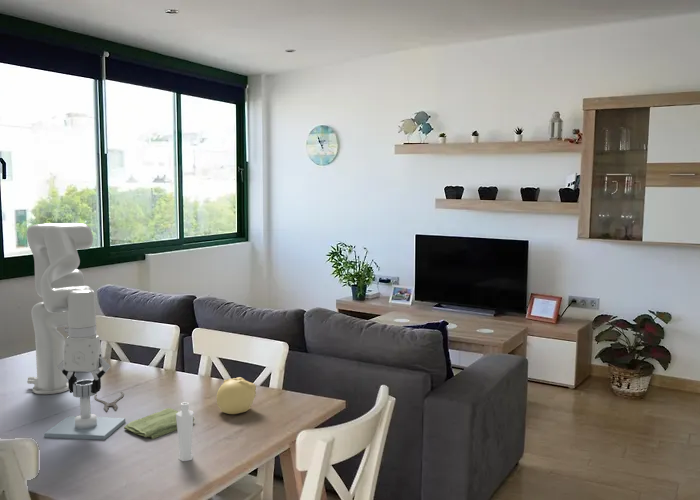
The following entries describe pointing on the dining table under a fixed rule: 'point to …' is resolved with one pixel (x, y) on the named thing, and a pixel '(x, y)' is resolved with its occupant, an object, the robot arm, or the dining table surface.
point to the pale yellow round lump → (235, 395)
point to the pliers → (112, 404)
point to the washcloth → (155, 424)
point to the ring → (83, 388)
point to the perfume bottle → (185, 432)
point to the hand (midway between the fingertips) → (84, 391)
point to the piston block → (85, 425)
